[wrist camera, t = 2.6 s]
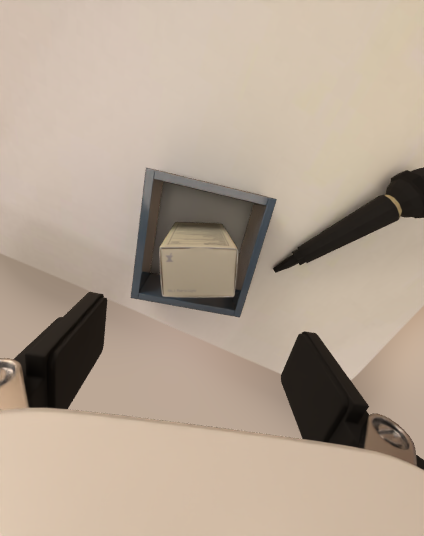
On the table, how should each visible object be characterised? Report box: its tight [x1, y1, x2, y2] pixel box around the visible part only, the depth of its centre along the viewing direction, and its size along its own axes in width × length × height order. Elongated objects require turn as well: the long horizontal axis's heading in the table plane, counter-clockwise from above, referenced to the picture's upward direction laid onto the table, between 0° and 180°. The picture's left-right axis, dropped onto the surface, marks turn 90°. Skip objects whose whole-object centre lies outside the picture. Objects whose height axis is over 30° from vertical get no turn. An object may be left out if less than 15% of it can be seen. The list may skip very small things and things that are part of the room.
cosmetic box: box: [159, 222, 238, 297], centre depth 24 cm, size 6×4×12 cm
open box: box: [131, 168, 277, 317], centre depth 27 cm, size 13×14×6 cm
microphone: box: [274, 168, 424, 273], centre depth 28 cm, size 6×6×20 cm
